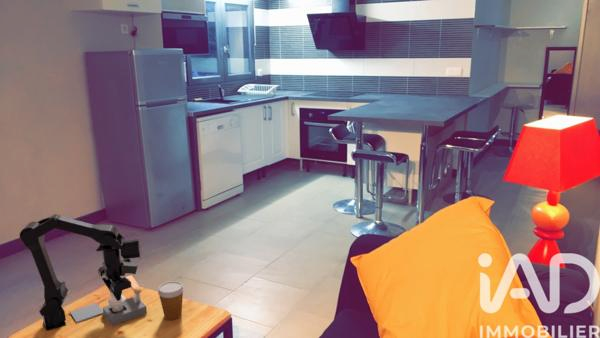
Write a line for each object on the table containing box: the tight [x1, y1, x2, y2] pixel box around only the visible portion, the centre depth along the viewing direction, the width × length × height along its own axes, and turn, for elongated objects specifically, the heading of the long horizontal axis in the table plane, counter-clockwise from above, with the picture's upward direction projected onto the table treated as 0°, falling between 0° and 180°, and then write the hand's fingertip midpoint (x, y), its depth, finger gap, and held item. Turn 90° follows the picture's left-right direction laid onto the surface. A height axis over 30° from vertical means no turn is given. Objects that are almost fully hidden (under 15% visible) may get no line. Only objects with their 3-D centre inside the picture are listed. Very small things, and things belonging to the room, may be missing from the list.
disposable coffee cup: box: [157, 280, 185, 321], centre depth 175 cm, size 10×10×12 cm
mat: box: [69, 302, 104, 324], centre depth 178 cm, size 10×9×1 cm
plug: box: [107, 292, 127, 313], centre depth 175 cm, size 6×6×7 cm
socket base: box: [102, 292, 148, 326], centre depth 177 cm, size 13×10×7 cm
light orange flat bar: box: [125, 274, 142, 295], centre depth 184 cm, size 14×3×1 cm, turn 34°
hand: (116, 298), depth 174 cm, fingers closed on plug, 4 cm apart
